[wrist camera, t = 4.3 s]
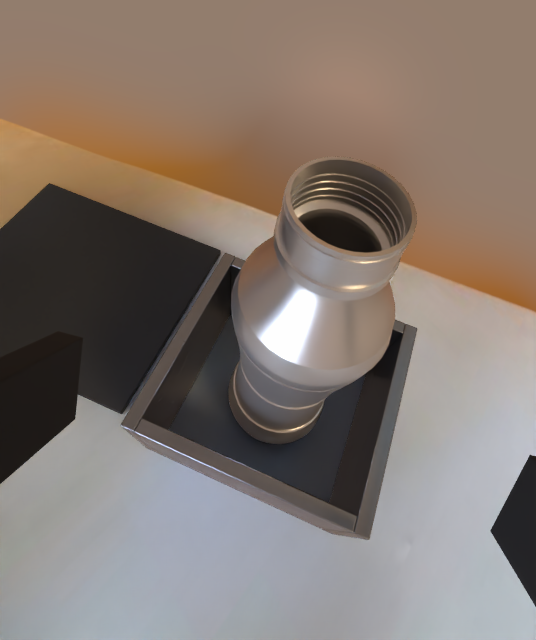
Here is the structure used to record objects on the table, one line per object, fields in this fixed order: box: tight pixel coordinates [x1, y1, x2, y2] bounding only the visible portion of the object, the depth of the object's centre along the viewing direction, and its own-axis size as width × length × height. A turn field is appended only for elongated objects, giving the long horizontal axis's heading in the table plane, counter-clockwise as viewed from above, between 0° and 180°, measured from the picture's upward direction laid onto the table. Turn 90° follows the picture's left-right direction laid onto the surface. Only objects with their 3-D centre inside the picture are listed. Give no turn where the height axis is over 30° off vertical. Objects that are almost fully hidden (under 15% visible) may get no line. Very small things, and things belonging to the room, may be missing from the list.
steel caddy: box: [120, 253, 417, 540], centre depth 24 cm, size 14×13×7 cm
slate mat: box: [0, 183, 221, 414], centre depth 30 cm, size 18×16×1 cm
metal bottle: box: [228, 157, 417, 444], centre depth 18 cm, size 6×7×20 cm
